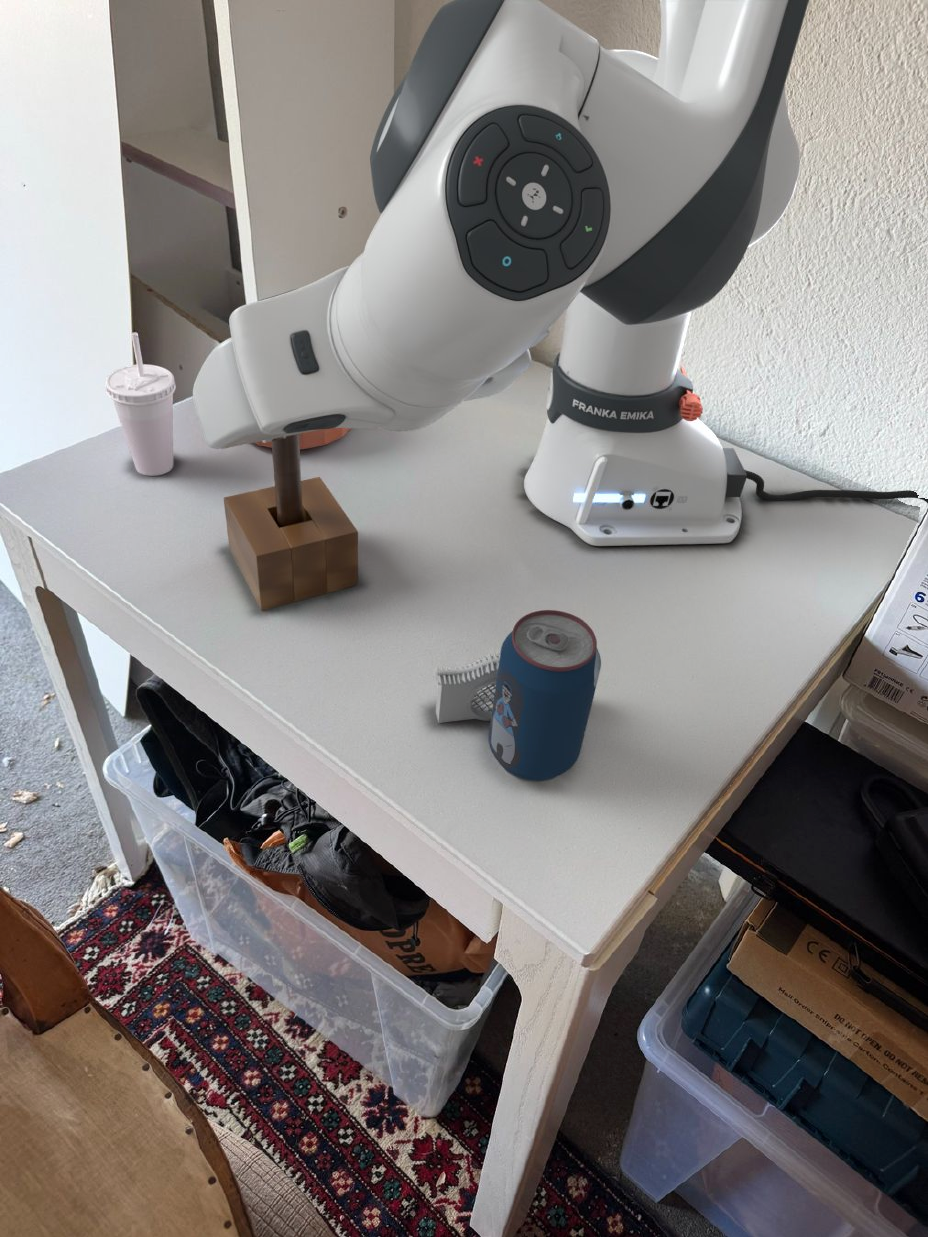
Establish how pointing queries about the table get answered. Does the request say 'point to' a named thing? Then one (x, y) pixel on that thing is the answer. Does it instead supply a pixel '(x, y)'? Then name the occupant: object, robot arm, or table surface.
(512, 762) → the soda can
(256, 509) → the stand
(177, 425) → the table surface
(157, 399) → the smoothie
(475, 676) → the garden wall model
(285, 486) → the stick
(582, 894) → the table surface
